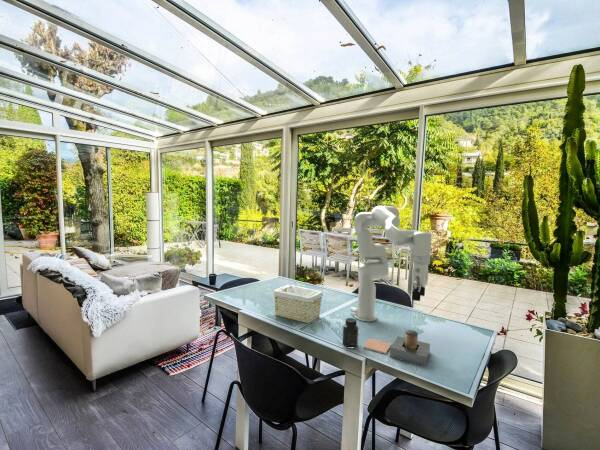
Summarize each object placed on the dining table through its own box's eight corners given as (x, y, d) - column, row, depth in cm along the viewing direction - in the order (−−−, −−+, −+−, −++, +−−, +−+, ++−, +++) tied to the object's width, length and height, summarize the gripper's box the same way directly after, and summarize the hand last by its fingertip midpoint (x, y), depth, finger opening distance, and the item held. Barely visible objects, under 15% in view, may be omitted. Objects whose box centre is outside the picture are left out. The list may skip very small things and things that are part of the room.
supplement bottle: (340, 342, 144) (342, 316, 143) (355, 342, 144) (356, 317, 143) (344, 349, 137) (345, 322, 136) (359, 349, 137) (360, 322, 136)
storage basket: (271, 315, 174) (272, 289, 173) (287, 307, 188) (288, 283, 186) (308, 325, 161) (309, 298, 160) (322, 316, 175) (324, 291, 174)
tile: (363, 348, 138) (363, 346, 138) (370, 340, 147) (370, 338, 147) (385, 354, 133) (385, 352, 133) (391, 345, 142) (391, 343, 142)
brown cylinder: (402, 355, 133) (404, 332, 133) (405, 350, 138) (406, 329, 137) (415, 358, 131) (416, 335, 130) (417, 354, 135) (418, 331, 134)
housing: (389, 356, 132) (390, 347, 131) (397, 344, 144) (397, 335, 143) (424, 366, 125) (425, 357, 124) (429, 352, 137) (430, 344, 136)
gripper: (426, 263, 127) (423, 304, 128) (433, 258, 142) (430, 295, 143) (407, 261, 131) (404, 300, 132) (416, 256, 146) (414, 292, 147)
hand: (418, 297), depth 138 cm, fingers open, 9 cm apart
